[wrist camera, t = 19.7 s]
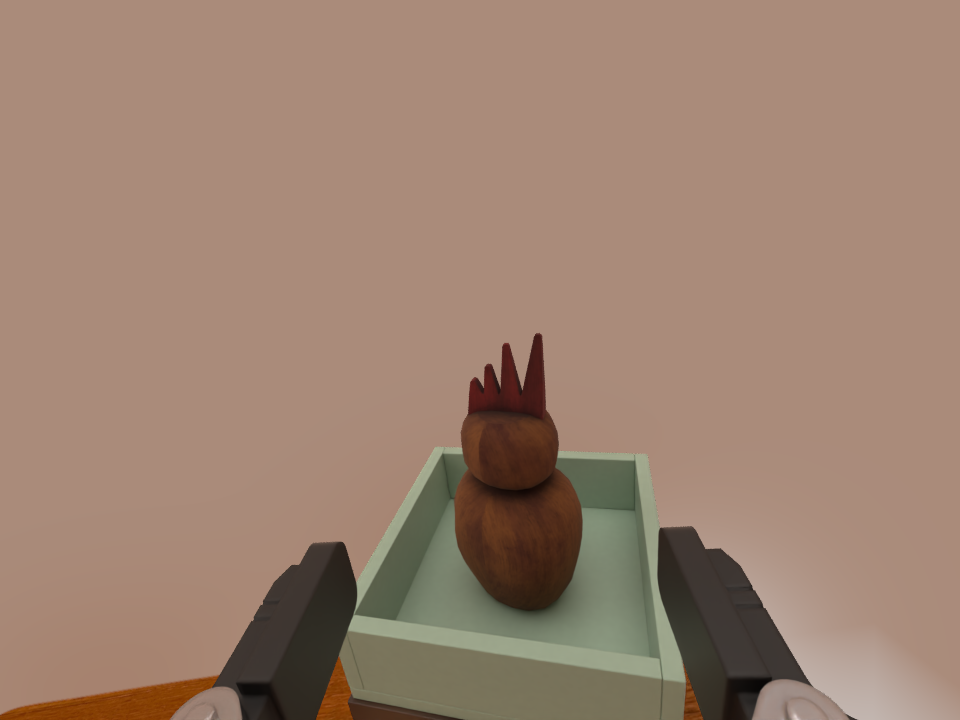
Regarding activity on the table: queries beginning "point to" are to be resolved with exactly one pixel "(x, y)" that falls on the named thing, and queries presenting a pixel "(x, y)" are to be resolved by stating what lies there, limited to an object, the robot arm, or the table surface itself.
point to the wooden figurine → (516, 490)
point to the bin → (519, 611)
